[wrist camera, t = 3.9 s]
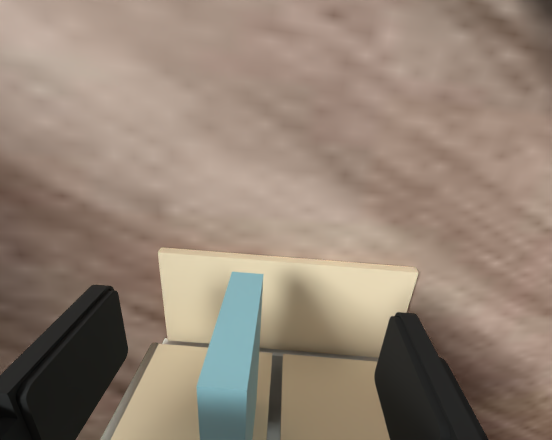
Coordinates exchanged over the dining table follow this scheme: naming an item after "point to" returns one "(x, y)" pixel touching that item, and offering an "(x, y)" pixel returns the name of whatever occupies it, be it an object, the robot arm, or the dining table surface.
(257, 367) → the door
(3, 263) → the dining table surface
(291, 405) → the carton
